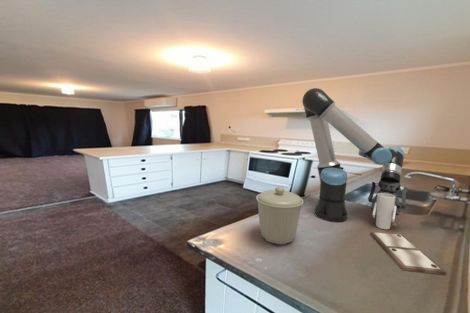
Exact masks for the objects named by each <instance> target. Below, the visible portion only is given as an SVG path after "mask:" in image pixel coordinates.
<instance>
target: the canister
mask: <svg viewBox="0 0 470 313" xmlns="http://www.w3.org/2000/svg"><path fill="white" fill-rule="evenodd" d="M255 199H256V201H257V208H258V209H257V210H258V221H259V230H260V234H261V236H262V238H263V239H264V238H265V239H266V240H265V239H264V240H265V241H267V242H269V243H271V242H272V243H271V244H274V243H276V244H275V245H286V243H288V244H290V243H291V242H293V241H294V239H295V238H296V235H297V230H298V225H299V220H300V214H301V208H302V205H303V204H304V199H303V198H302V197H301V196H300V195H299V194H296V193H294V192H291V191H288V190H285V188H284V187H282V186H276V187H275V189H269V190H265V191H262V192H260V193H258V194H256V197H255ZM289 242H290V243H289Z"/></svg>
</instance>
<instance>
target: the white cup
mask: <svg viewBox="0 0 470 313" xmlns="http://www.w3.org/2000/svg"><path fill="white" fill-rule="evenodd" d="M377 193H378V192H377ZM376 195H377V200H376V214H375V220H376V221H375V226H376V227H377V228H378V229H381V230H390V228H391V224H392V218H393V212H394V207H395V206H396V205H395V196H394V195H392V193H388V192H384V193H378V194H376Z"/></svg>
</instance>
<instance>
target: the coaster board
mask: <svg viewBox="0 0 470 313" xmlns="http://www.w3.org/2000/svg"><path fill="white" fill-rule="evenodd" d="M369 235H370V236H371V237H372V238H373V239H374V240H375V242H377V244H378V245H379V246H380V247H381V248H382V249H383V250H384V251H385V252H386V253H387V255H388V256H389V257H390V258H391V259H392V260H393V261H394V262H395V264H396V265H397V266H398V267H399V269H401V270H402V271H405V272H415V273H425V274H432V273H435V275H441V274H446V275H447V271H446V270H445V269H444V268H442V266H440V265H439V264H438V263H436V262H435V261H434V260H433V259H431V258H430V256H428V255H427V254H426V253H424V252H423V251H422V250H421V249H420V248H418V247H417V245H415V244H414V243H413V242H411V241H410V240H409V239H408V238H406V237H405V235H403V234H397V233H395V234H394V233H385V232H375V231H374V232H372V231H370V232H369Z"/></svg>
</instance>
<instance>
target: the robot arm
mask: <svg viewBox="0 0 470 313" xmlns="http://www.w3.org/2000/svg"><path fill="white" fill-rule="evenodd" d="M301 102H302V106H303V109H304V113H305V118H306V120H308V121H309V122H310V127H311V130H312V136H313V140H314V144H315V149H316V155H317V157H318V158H317V159H318V164H317V166H316V167H317V173H318V176H319V177H318V178H319V182H320V184H319V199H318V201H317V203H316V205H315V208H314V215H315V214H316V215H317V216H318V218H319V217H320V218H319V219H321V218H322V219H321V220H325V221H327V220H328V221H327V222H333V221H335V223H340V222H341V221H342V222H345V221H347V220H348V216H349V214H348V211H347V207H346V202H345V201H346V193H347V192H346V190H347V182H348V173H347V172H346V170H344V169H342V167H341V162H340V161H338V160H337V159H336V155H335V151H334V150H335V149H334V144H333V141H332V135H331V131H330V127H329V124H330V126H332V127H333V128H334V129H335V130H336V131H338V132H339V133H340V134H341V136H343V137H344V138H346V139H347V140H348V141H349V142H350V143H351V144H353V146H354V147H356V148H357V149H358V155H359V156H360V157H363V158H366V159H368V160H370V161H372V162H373V163H374V164H376V165H380V166H382V171H381V176H380V180H379V182H375V181H372V182H371V189H370V192H369V195H368V196H367V198H368V200H367V202H369V203H371V206H370V207H371V208H370V209H371V210H373V211H372V218H373V219H376V200H377V194H378V193H388V194H392V195H394V196H395V207H394V211H393V216H392V220H391V223H395V220H396V216H399V215H400V210H402V209H403V210H404V209H406V205H407V203H406V202H407V199H406V198H407V195H406V193H407V192H408V187H407V186H401V177H402V171H403V163H404V160H405V152H404V150H403V149H402V148H401V147H399V146H398V147H397V146H396V147H394V146H391V147H388V148H386V147H384V146H383V145H382V144H380V143H379V142H378V141H377V140H376V139H375V138H373V136H371V135H370V134H369V133H368V132H367V131H366V130H364V129H363V127H361V126H360V125H359V124H357V123H356V122H355V121H353V119H351V118H350V116H348V114H346V113H344V111H343V110H341V109H340V108H339V107H337V106H336V102H335V101H334V100H333V99H332V98H331V97H330V96H329V95H328V94H327V93H326V92H325V91H324V90H323V89H321V88H318V87H316V88H314V87H313V88H310V89H308V90H307V91H306V92H305V93H304V94H303V96H302V101H301ZM378 187H379V188H380V189H379V190H378V191H377V194H375V192H376V188H378ZM399 190H400V192H401V204H400V200H399V197H398V194H397V191H399ZM374 195H375V196H374ZM316 215H315V216H316ZM317 216H316V217H317Z"/></svg>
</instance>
